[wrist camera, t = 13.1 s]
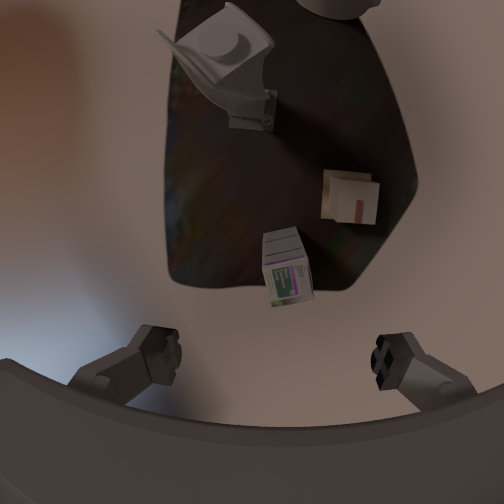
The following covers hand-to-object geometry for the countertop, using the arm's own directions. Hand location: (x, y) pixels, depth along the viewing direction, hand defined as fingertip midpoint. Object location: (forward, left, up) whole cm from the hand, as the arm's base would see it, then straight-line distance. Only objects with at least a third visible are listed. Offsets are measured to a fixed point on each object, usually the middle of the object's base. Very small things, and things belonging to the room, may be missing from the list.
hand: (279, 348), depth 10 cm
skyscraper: (-15, -4, -36) cm, 39 cm away
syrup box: (+8, +2, -35) cm, 36 cm away
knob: (-1, +12, -34) cm, 37 cm away
